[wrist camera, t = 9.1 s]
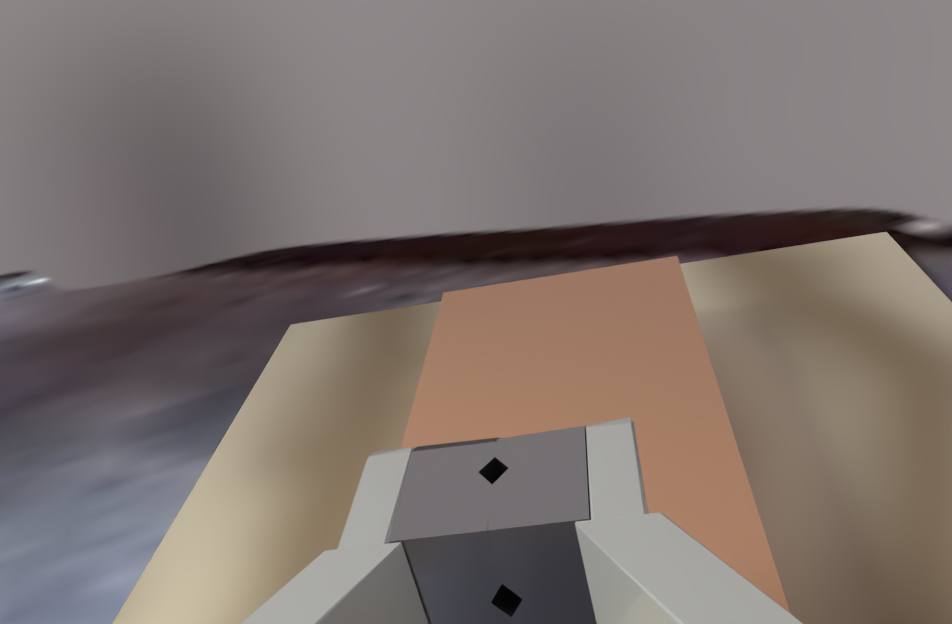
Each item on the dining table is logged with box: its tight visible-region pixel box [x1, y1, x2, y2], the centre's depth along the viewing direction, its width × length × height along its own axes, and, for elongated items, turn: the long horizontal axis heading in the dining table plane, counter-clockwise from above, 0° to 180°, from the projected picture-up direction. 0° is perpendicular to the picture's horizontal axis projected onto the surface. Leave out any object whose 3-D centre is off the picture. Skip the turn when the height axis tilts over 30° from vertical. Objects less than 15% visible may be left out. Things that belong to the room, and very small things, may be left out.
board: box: [113, 232, 952, 624], centre depth 19 cm, size 22×26×1 cm
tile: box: [401, 256, 790, 613], centre depth 19 cm, size 7×3×14 cm
